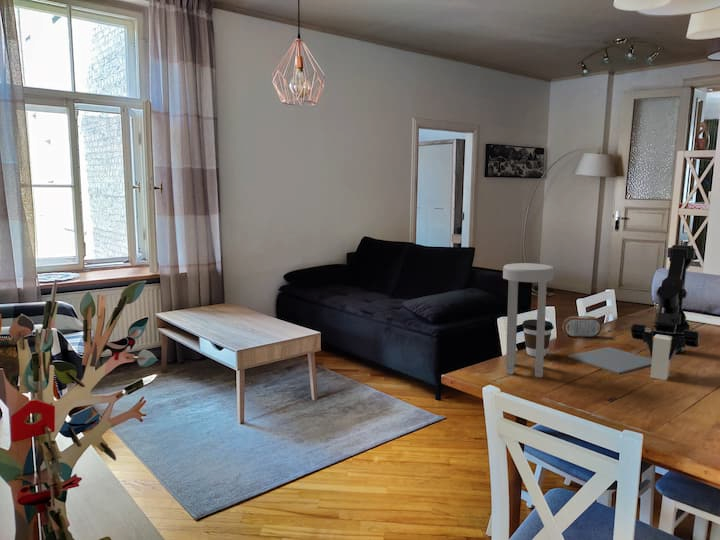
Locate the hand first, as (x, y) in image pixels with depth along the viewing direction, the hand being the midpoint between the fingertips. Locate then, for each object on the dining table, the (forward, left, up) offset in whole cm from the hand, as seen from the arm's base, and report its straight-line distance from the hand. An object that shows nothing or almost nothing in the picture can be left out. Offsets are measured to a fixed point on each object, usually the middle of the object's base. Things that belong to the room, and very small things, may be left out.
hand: (660, 357), depth 165 cm
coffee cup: (+15, -37, -7) cm, 40 cm away
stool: (+31, -27, -7) cm, 41 cm away
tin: (-19, -45, -7) cm, 49 cm away
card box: (-1, -1, -7) cm, 7 cm away
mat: (-3, -19, -7) cm, 20 cm away
